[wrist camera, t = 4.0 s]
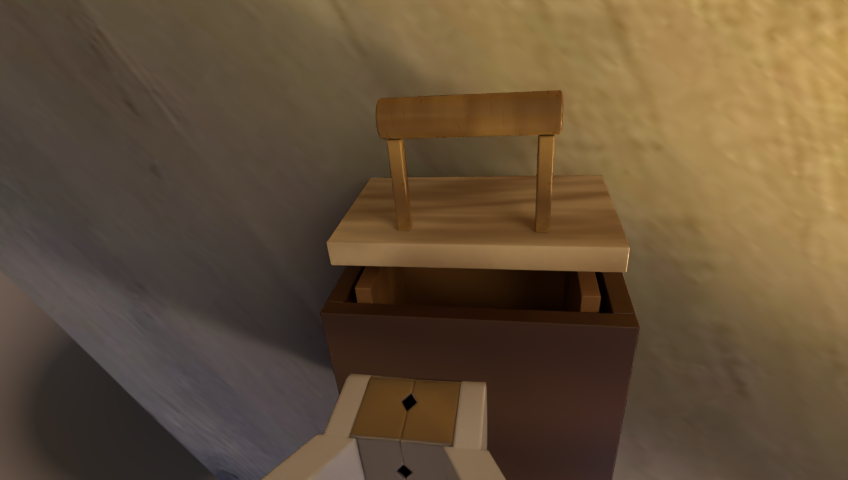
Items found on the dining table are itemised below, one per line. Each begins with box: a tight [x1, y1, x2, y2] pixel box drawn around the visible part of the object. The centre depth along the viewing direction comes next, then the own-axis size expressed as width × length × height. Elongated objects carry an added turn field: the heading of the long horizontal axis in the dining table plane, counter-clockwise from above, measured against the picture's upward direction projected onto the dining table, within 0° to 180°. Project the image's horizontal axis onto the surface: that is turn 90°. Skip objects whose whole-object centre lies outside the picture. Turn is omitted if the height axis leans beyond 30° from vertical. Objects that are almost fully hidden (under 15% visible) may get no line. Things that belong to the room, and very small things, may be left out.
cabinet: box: [320, 265, 640, 480], centre depth 28 cm, size 16×14×9 cm
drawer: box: [327, 90, 630, 313], centre depth 25 cm, size 20×13×7 cm, turn 5°
